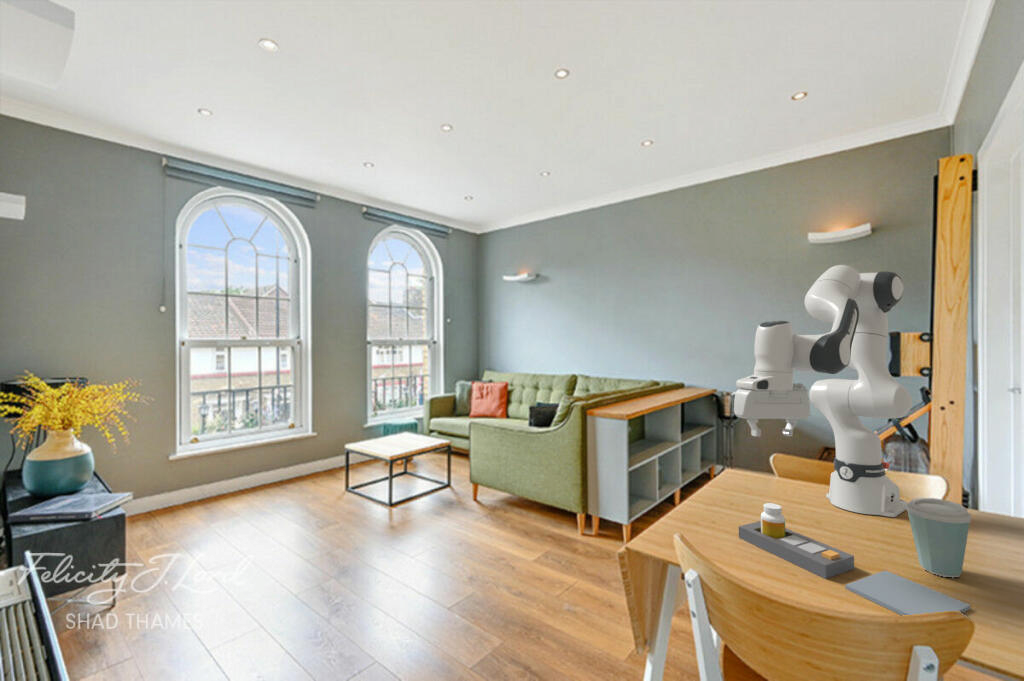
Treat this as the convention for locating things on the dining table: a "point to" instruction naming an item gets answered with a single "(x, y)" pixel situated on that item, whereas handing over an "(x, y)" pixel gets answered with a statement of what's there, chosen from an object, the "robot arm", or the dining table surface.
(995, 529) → the dining table surface
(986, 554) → the dining table surface
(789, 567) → the dining table surface
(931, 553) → the disposable coffee cup
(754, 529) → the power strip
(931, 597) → the mat
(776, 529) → the supplement bottle
